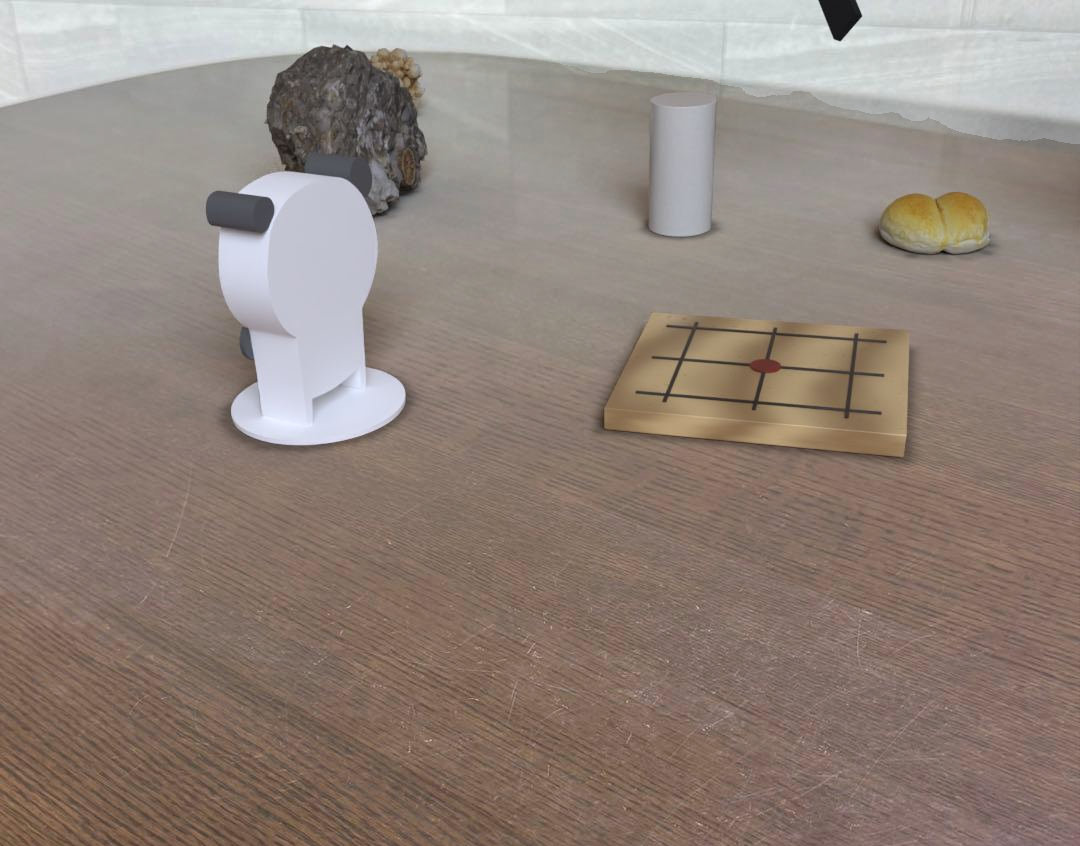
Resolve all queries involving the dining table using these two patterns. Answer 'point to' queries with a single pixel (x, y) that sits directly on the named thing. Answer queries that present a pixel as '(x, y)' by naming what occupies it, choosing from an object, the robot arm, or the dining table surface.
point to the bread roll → (936, 223)
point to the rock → (348, 119)
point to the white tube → (681, 163)
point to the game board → (766, 384)
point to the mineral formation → (401, 70)
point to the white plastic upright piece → (304, 302)
